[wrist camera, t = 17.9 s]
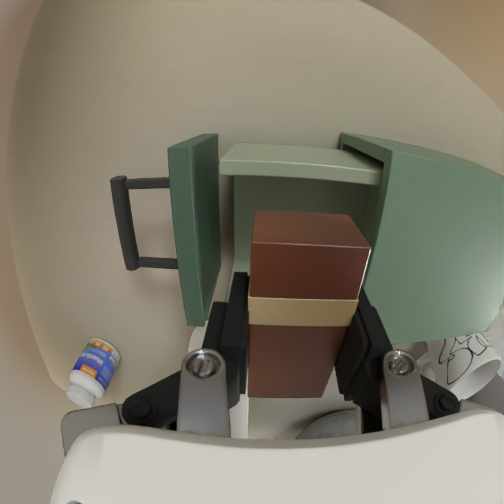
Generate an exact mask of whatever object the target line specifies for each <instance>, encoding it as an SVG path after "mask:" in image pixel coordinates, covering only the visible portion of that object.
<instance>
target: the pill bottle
mask: <svg viewBox="0 0 504 504" xmlns="http://www.w3.org/2000/svg"><path fill="white" fill-rule="evenodd" d="M119 361H120V355H119V353H118V351H117V350H116V349H115V347H114V346H112V345H111V344H110V343H108V342H107V341H105V340H102V339H99V338H92V339H91V340H89V342H88V343H87V345H86V347H85V349H84V350H83V352H82V354H81V355H80V357H79V359H78V361H77V362H76V364H75V366H74V368H73V369H72V371H71V373H70V381H71V383H72V385H70V386H69V387H68V390H67V392H66V395H67V396H68V398H69V399H70V400H71V401H73V402H74V403H75V404H77V405H78V406H80V407H82V408H85V409H86V408H91V407H93V406H94V404H95V399H99V398H102V397H103V396H104V394H105V392H106V389H107V387H108V385H109V383H110V380H111V378H112V376H113V374H114V372H115V370H116V367H117V365H118V363H119Z"/></svg>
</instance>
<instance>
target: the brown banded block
mask: <svg viewBox="0 0 504 504" xmlns="http://www.w3.org/2000/svg"><path fill="white" fill-rule="evenodd" d="M370 250H371V247H370V245H369V244H368V242H367V241H366V239H365V238H364V236H363V235H362V233H361V232H360V230H359V229H358V228H357V226H356V225H355V223H354V222H353V220H352V219H351V217H350V216H349V215H341V214H327V213H313V212H296V211H278V210H255V213H254V220H253V228H252V236H251V252H250V282H249V291H248V311H249V344H248V392H247V396H248V397H261V398H321V397H322V395H323V393H324V390H325V388H326V385H327V383H328V381H329V378H330V376H331V373H332V371H333V368H334V366H335V363H336V360H337V358H338V355H339V352H340V350H341V347H342V344H343V341H344V338H345V336H346V333H347V330H348V327H349V326H350V324H351V321H352V318H353V314H354V313H355V311H356V308H357V304H358V301H359V299H358V295H359V292H360V288H361V285H362V281H363V278H364V274H365V270H366V266H367V262H368V259H369V255H370Z"/></svg>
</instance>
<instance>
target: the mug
mask: <svg viewBox="0 0 504 504" xmlns="http://www.w3.org/2000/svg"><path fill="white" fill-rule="evenodd" d="M426 343H427V347H428V351H427V353H425V354H424V355H422V356H421V357H420V358H419V359H418V360H417V364H418V368H419V372H420V374H421V375H423V371H422V368H423V366H424V365H425V364H426V363H428V362H431V364H432V368H433V371H434V374H435V378H436V381H437V384H439V385H440V386H442V387H444V388H446V389H447V390H449V391H451V392H452V393H454V394H455V395H456V397H457V398H458V400H459V401H460V400H461V399H464V400H465V399H467V398H469V397H470V396H472V395H474V394H475V393H476V392H478V391H479V390H480V389H482V388H483V387H484V386H485V385H486V384H487V383H488V382H489V381H490V380H491V379H492V378H493V377H494V376H495V374H496V373H497V371H498V370H499V368H500V365H501V359H500V357H499V355H498V354H497V352H496V351H495V349H494V348H493V347H492V345H491V344H490V342H489V341H488V340H487V338H486V337H485V336H484V335H483V333H476V334H471V335H465V336H459V337H452V338H446V339H439V340H431V341H426Z"/></svg>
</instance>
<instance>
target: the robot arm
mask: <svg viewBox="0 0 504 504" xmlns="http://www.w3.org/2000/svg"><path fill="white" fill-rule="evenodd" d="M249 282H250V276H248V272H234V275H233V280H232V285H231V290H230V295H229V301H228V302H215V301H214V302H213V305H212V309H211V312H210V316H209V320H208V324H207V328H206V332H205V336H204V340H203V344H202V348H201V349H196V350H194V351H191V352H190V353H188V354H187V355H186V356H185V357H184V359H183V361H182V364H181V370H180V371H178V372H176V373H174V374H172V375H170V376H168V377H167V378H165V379H163V380H161V381H159V382H157V383H155V384H153V385H151V386H149V387H147V388H145V389H143V390H141V391H139V392H137V393H135V394H133V395H131V396H130V397H128V398H127V399H126V400H125V401H124V403H123V404H118V405H117V404H116V403H111V404H106V405H101V406H96V407H91V408H86V409H80V410H74V411H71V412H68V413H67V414H66V415H65V416H64V417H63V419H62V421H61V433H62V440H63V448H64V454H65V460H64V462H63V464H62V467H61V469H60V472H59V475H58V478H57V481H56V484H55V486H54V490H53V494H52V497H51V501H50V504H504V415H502V414H501V413H498V412H497V411H496V410H495V409H494V408H492V407H489V406H486V405H482V404H478V403H474V402H471V401H467V400H464V399H461V400H460V401H459V400H458V398H457V397H456V395H455V394H454V393H452V392H451V391H449V390H447V389H446V388H444V387H442V386H440V385H439V384H437V383H435V382H433V381H431V380H430V379H428V378H426V377H425V376H423V375H421V374H420V372H419V368H418V364H417V361H416V359H415V358H414V357H413V356H412V355H411V354H410V353H408V352H406V351H404V350H399V349H396V350H393V348H392V345H391V343H390V340H389V338H388V335H387V333H386V331H385V328H384V326H383V323H382V321H381V319H380V316H379V314H378V312H377V309H376V308H375V307H374V306H371V304H370V302H369V299H368V297H367V295H366V293H365V290H364V288H363V286H362V285H361V288H360V292H359V295H358V299H359V301H358V304H357V308H356V311H355V313H354V314H353V318H352V321H351V324H350V326H349V327H348V330H347V333H346V336H345V338H344V341H343V344H342V347H341V350H340V352H339V355H338V358H337V360H336V363H335V371H336V376H337V382H338V388H339V392H340V394H344V400H345V401H351V400H353V403H355V404H356V405H357V407H356V424H357V427H356V435H352V436H343V437H333V438H320V439H298V440H263V439H242V438H231V426H230V412H229V409H231V408H232V407H234V406H235V405H237V404H238V401H240V394H246V383H247V371H248V344H249V311H248V291H249Z"/></svg>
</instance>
